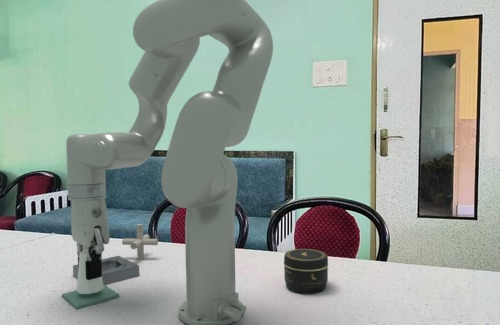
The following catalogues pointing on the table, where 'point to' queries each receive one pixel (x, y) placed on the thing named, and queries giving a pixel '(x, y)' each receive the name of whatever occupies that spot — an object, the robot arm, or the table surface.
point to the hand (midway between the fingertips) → (89, 274)
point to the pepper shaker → (82, 283)
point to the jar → (306, 270)
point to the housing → (115, 269)
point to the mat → (89, 297)
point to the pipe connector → (140, 242)
